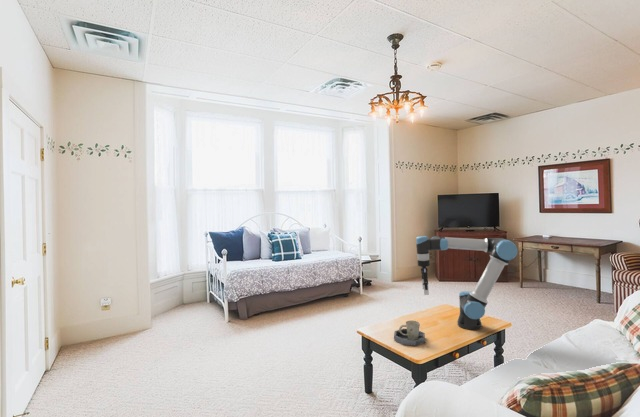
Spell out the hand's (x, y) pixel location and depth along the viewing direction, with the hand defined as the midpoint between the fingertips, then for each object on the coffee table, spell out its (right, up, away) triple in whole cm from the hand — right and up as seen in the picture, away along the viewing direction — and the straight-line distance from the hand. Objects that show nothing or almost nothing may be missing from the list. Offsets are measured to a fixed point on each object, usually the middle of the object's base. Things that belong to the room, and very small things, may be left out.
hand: (425, 291), depth 220 cm
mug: (-14, -26, -12) cm, 32 cm away
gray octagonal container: (-14, -27, -12) cm, 32 cm away
